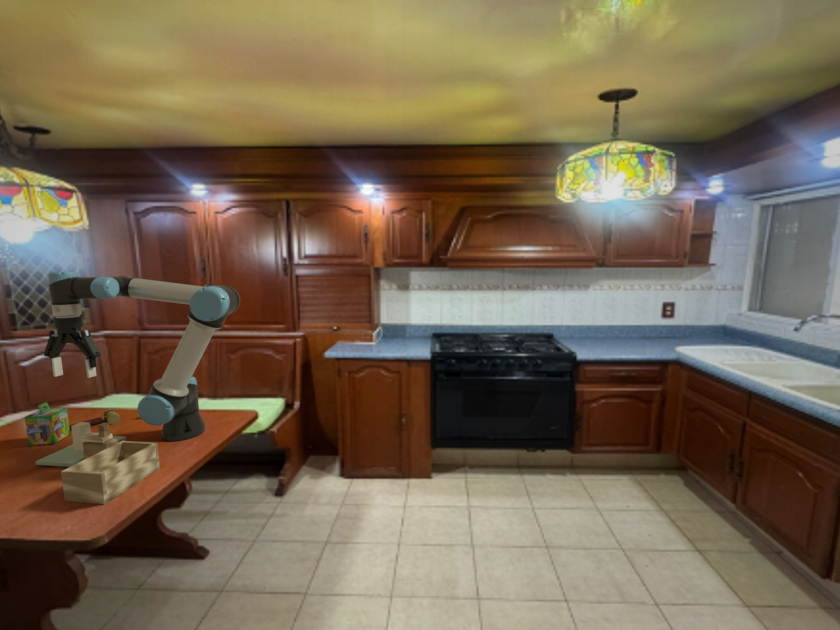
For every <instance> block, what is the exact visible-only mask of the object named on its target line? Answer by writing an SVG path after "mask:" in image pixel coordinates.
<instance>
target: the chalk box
mask: <svg viewBox="0 0 840 630" xmlns="http://www.w3.org/2000/svg"><path fill="white" fill-rule="evenodd" d="M37 406H38V410H37V411H35V412H32V413H30V414H28V415H26V416H25V417H24V418H23V419H24V423H25V430H26V436H27V443H28V444H27V445H28V446H29V447H31V446H43V445H54V444H57V443H58V442H60V441H62V440H64V439H66V438H68V436H70V435H71V431H70V428H69V425H70V422H69V412H68V408H67V407H60V408H59V407H55V408H54V407H53V408H50V406H49V403H48V402H46V401H45V402H43V403H41V404H39V405H37ZM43 407H46V408H45V409H43Z"/></svg>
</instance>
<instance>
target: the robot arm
mask: <svg viewBox="0 0 840 630" xmlns="http://www.w3.org/2000/svg"><path fill="white" fill-rule="evenodd" d="M47 278H48V289H49V294H50V299H51V309H52V316H53V317H54V318H53V319H52V320H53V325H54V326H53V327H54V329H52V330H49V331H48V335H49V337H48V341H47V344H46V346H45V349H44V352H43V356H44V357H48V358H49V359H50V365H51V368H52V375H53V377H54V378H56V377H59V376H64V370H63V362H62V356H61V353H62V351H63V349H64V348H65V346H66V345H67V344H72V345H75V346H76V347H77V348H78V349H79V350H80V351H81V353H82V354H83V355H84V356H85V357H86V358H85V360H84V361H85V368H86V375H87V376H86V377H87V378H88V379H90V378H92V377H97V370H96V367H97V357H100V356H102V353H101V351H100V350H99V347H98V346H97V343H96V342H95V340H94V338H93V337H92V334H91V330H90V329H86V330H82V327H84V323H83V322H84V321H83V317H82V316H81V315H82V314H83V313H82V312H83V311H82V305H81V300H88V299H89V300H94V299H95V300H106V299H107V300H109V299H114V298H117V297H124V298H133V299H142V300H147V301H149V300H150V301H156V302H157V301H159V302H165V303H172V304H173V303H175V304H181V305H189V312H188V314H187V317H188V319H189V323H188V325H187V326H186V329H185V330H184V332H183V335H182V337H181V338H180V340H179V342H178V345H177V346H176V349H175V350H174V352H173V354H172V356H171V359H170V360H169V363H168V364H167V367H166V369H165V371H164V373H163V375H162V377H161V378H159V379H156V380H155V381H154V383H153V384H152V386H151V388H150V390H149V392H148V394H147V395H145V396H144V397H142V398H141V400H139V402H138V403H137V414H138V416H139V418H140V419H141V420H142V421H143V422H144V423H146V424H147V425H151V426H162V430H161V438H162V440H164V441H168V442H172V441H173V442H176V441H184V440H185V441H186V440H188V439H192V438H194V437H198V436H199V435H202V434H203V433H204V432H205V431H206V423H205V421H204V420H203V417H202V415H201V413H200V406H199V405H200V404H199V394H198V393H199V392H198V383H197V382H198V381H197V379H196V377H195V376H193V375H194V373H195V372H196V369H197V366H198V365H199V364H200V361H201V359H202V357H203V355H204V354H205V351H206V349H207V348H208V345H209V344H210V341H211V339H212V337H213V335H214V333H215V331H217V330H220V329H222V327H223V325H224V323H225V321H226V319H227V318H228V316H229V315H232V314H234V313H235V312H237V310H238V309H239V307H240V304H241V296H240V294H239V293H238V291H237V290H236V289H235V288H234V287H232V286H229V285H227V284H218V285H217V284H215V285H214V284H205V285H204V286H201V285H193V284H185V283H175V282H168V281H162V280H161V281H160V280H154V279H146V278H145V279H144V278H136V277H132V276H128V275H115V276H114V275H113V276H92V277H91V276H89V277H87V276H86V277H79V276H78V273H77V272H76V271H52V272H50V273H48V277H47Z"/></svg>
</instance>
